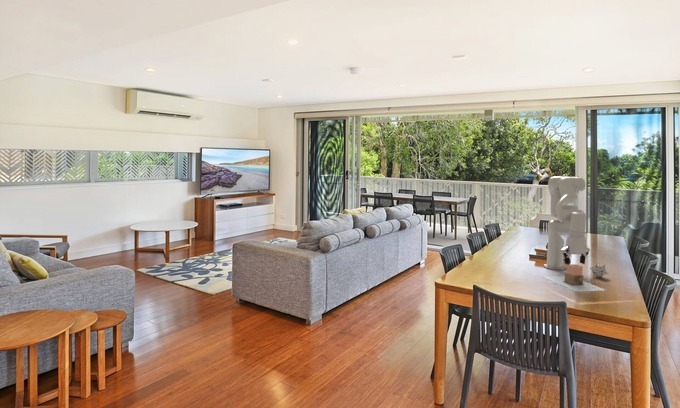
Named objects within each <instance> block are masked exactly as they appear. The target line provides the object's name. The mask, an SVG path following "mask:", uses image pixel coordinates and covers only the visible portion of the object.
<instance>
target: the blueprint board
mask: <svg viewBox="0 0 680 408" xmlns="http://www.w3.org/2000/svg"><path fill="white" fill-rule="evenodd" d="M543 278H544V279H547V280H550V281H551V282H554V283H556V284H558V285H561V286H563V287H566V288H568V289H570V290H572V291H574V292H599V291H600V292H601V291H606V289H605V288H602V287H599V286H597V285H595V284H592V283H589V282H587V281H584V280H583V284H581V285H572V284H569V283H567V282H564V280H565V275H563V276H562V275H560V276H543Z"/></svg>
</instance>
